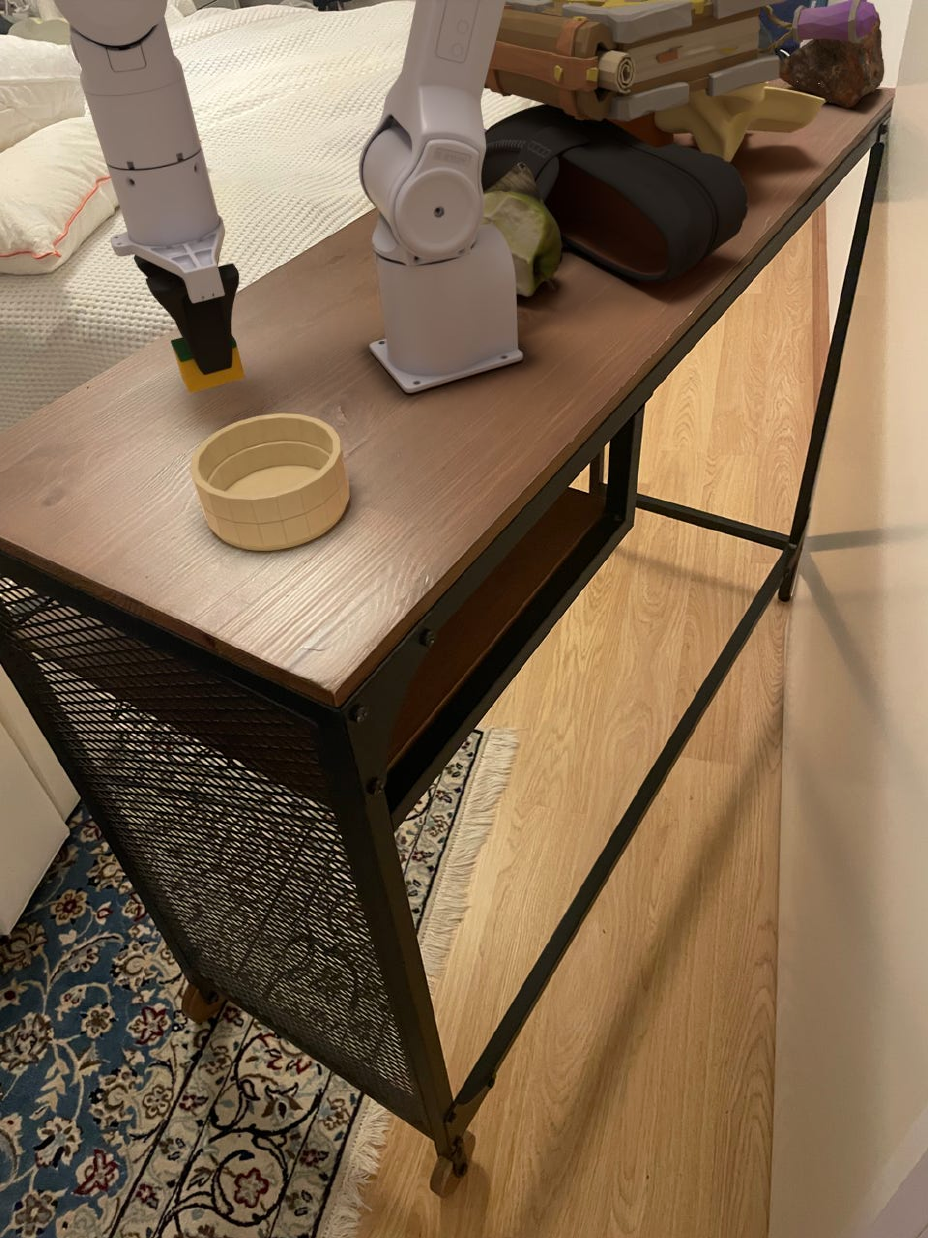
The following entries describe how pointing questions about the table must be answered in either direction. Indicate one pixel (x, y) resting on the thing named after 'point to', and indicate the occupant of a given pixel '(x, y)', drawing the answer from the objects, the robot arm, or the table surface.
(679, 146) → the loafer
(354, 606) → the table surface
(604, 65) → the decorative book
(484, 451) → the table surface
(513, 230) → the fruit
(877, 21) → the rock
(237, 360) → the sponge
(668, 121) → the beige curved piece
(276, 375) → the table surface
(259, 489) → the bowl
